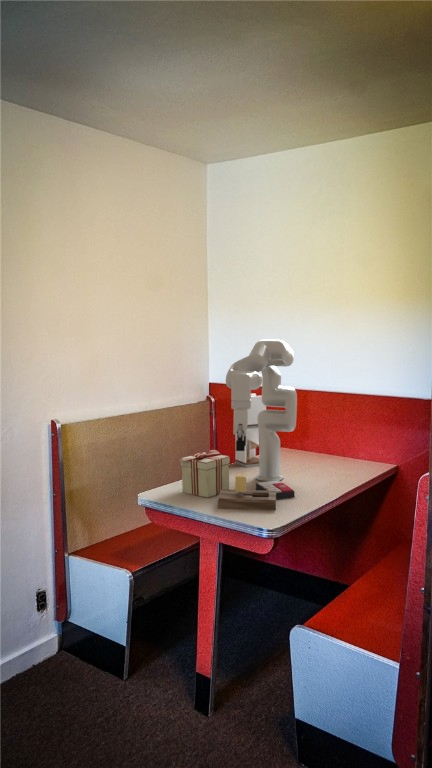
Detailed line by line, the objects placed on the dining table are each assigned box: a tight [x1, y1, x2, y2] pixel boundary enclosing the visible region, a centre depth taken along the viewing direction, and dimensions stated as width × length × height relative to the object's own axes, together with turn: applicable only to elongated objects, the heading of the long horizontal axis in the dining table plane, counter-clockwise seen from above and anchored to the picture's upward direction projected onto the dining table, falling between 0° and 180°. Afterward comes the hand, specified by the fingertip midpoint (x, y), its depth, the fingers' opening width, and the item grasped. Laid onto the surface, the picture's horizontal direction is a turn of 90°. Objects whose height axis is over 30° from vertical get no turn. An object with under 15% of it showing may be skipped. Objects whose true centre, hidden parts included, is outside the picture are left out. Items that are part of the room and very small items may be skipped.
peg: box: [234, 473, 247, 496], centre depth 241 cm, size 5×5×12 cm
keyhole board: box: [217, 489, 277, 511], centre depth 241 cm, size 13×22×4 cm, turn 84°
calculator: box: [255, 480, 295, 500], centre depth 257 cm, size 11×4×15 cm
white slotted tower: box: [234, 393, 267, 468], centre depth 309 cm, size 11×11×35 cm
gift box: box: [177, 449, 231, 499], centre depth 259 cm, size 17×18×17 cm
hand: (241, 448), depth 240 cm, fingers open, 9 cm apart
